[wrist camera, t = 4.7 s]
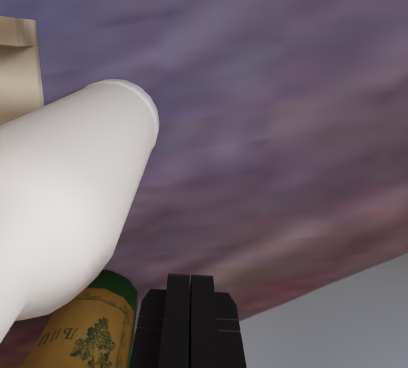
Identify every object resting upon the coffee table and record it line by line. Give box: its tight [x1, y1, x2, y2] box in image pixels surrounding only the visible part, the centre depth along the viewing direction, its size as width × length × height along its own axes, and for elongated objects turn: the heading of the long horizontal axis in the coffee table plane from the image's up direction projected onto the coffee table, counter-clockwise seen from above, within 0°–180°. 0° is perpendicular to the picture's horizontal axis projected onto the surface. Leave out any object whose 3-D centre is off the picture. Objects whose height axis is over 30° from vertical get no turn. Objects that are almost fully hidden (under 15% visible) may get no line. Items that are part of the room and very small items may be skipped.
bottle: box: [0, 79, 159, 343], centre depth 18 cm, size 8×8×30 cm
